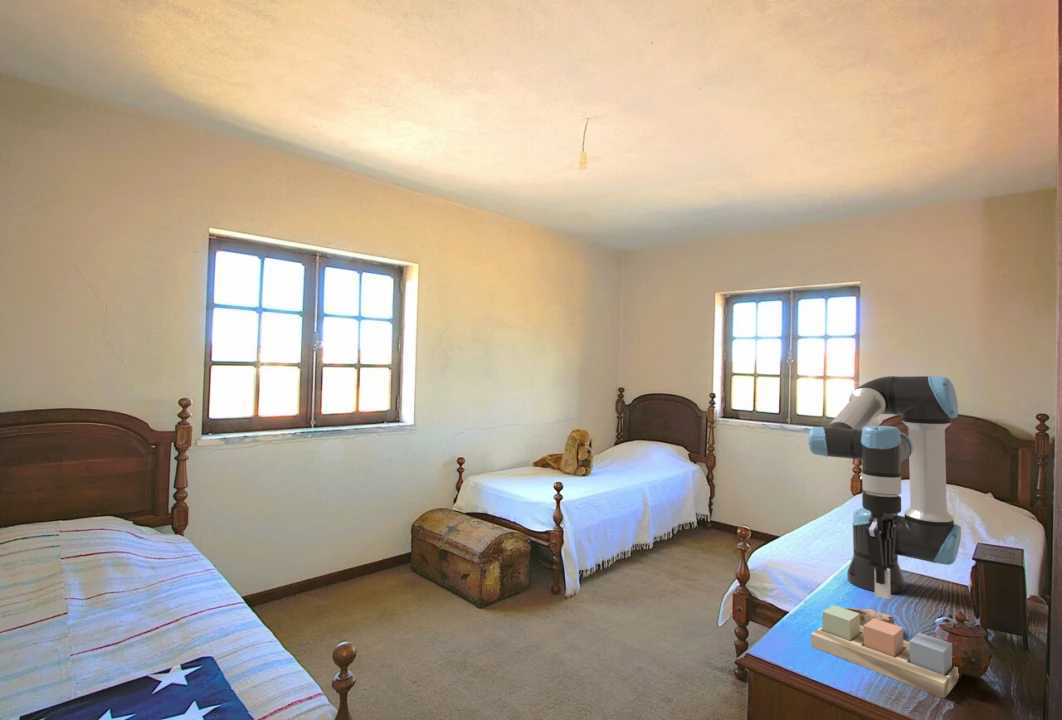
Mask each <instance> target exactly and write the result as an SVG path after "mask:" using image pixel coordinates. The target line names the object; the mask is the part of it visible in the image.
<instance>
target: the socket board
mask: <svg viewBox="0 0 1062 720" xmlns="http://www.w3.org/2000/svg"><path fill="white" fill-rule="evenodd" d="M810 644H811V645H810V647H812V648H813V649H817V650H819V651H822V652H824V653H828V654H830V655H833V656H834V657H837V658H840V659H842V660H844V661H848V662H850V663H852V664H855V665H857V666H859V667H862V668H865V669H868V670H871V671H873V672H876V673H878V674H881V675H883V676H885V677H886V676H887V677H888V678H891V679H893V680H896V681H899V682H901V683H904V684H905V685H909V686H912V687H914V688H916V689H919V690H921V691H923V692H926V693H929V694H932V695H934V696H937V697H940V698H942V699H945V698H946V697H947V696H948V695H949V693H951V691H952V689H953V688H954V687H955V686H956V684H958V682H959V681H958V679H959V673H958V667H955V666H954V668H953V669H952V670H951V671H950V672H949V673H947V674H948V675H945V676H944V675H941V674H939V673H936V672H933V671H930V670H928V669H925V668H922V667H919V666H917V665H914V664H911V663H910V641H907V640H906V639H903V648H904V650H903V651H902V652H901V653H899V654H898V655H897V656H896V657H892V656H889V655H886V654H884V653H881V652H878V651H875V650H873V649H870V648H867V647H864V626H861V625H860V635H859V636H857V637H856V638H855V639H853V640H852V641H848V640H845V639H843V638H840V637H837V636H834V635H832V634H829V633H826V632H823V625H822V626H821V627H819V628H818V629H816V630H815V631H813V632H811V634H810ZM957 681H958V682H957Z"/></svg>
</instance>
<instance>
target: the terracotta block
mask: <svg viewBox="0 0 1062 720" xmlns="http://www.w3.org/2000/svg"><path fill="white" fill-rule="evenodd" d="M903 640H904V627H903V626H901V625H896V624H895V623H894V624H890V623H887V622H884V621H881V620H878V619H875V618H873V619H872V620H870V621H869V622H868V623H866V624H865V625H864V647H867V648H870V649H873V650H875V651H878V652H881V653H884V654H886V655H889V656H892V657H895V658H896V656H897V655H898V654H899V653H901V652H902V651H903V650H904V648H903Z"/></svg>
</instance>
